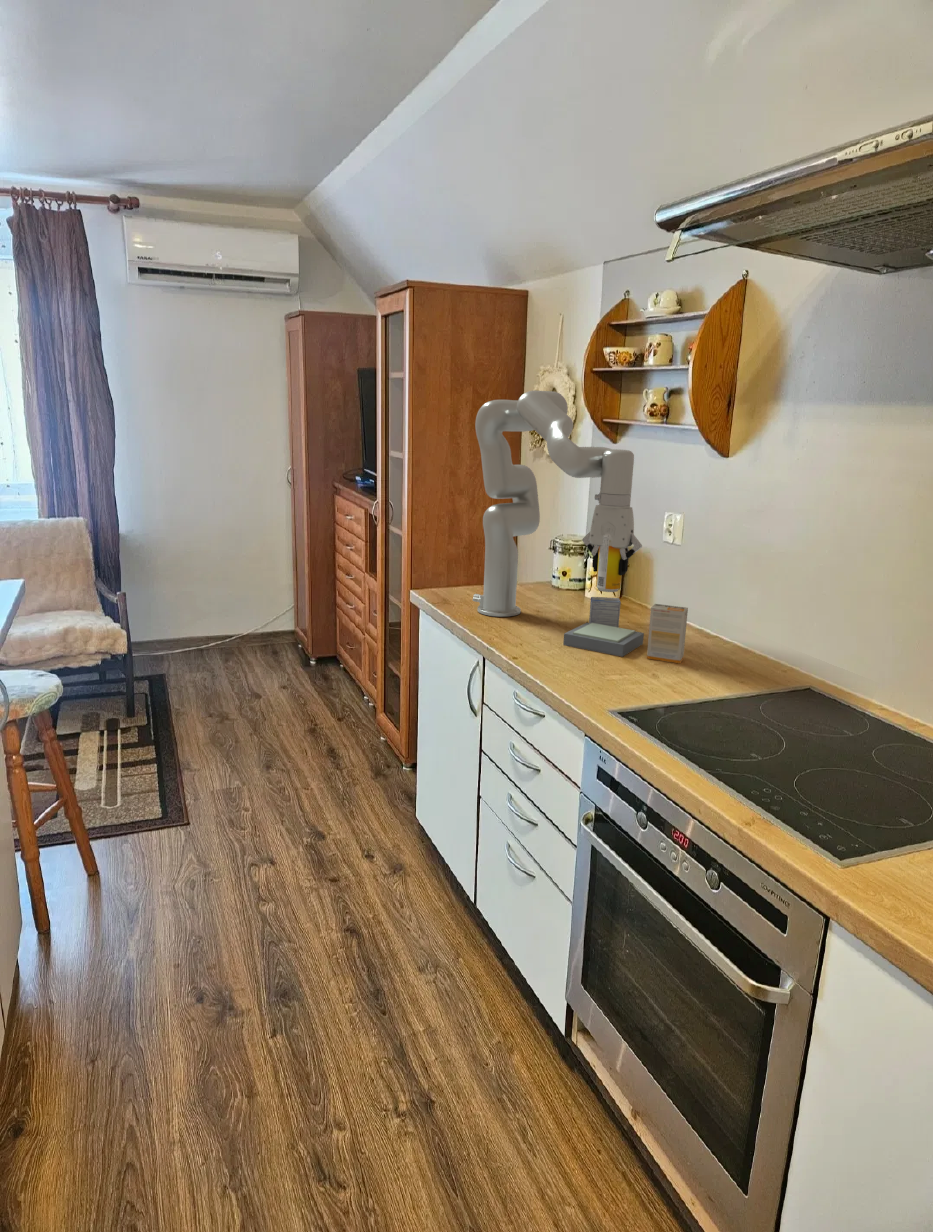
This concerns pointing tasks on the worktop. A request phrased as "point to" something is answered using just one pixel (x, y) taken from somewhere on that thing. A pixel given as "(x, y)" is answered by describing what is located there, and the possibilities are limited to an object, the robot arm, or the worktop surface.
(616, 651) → the raised board
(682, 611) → the supplement box
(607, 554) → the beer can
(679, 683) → the worktop surface
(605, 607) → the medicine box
